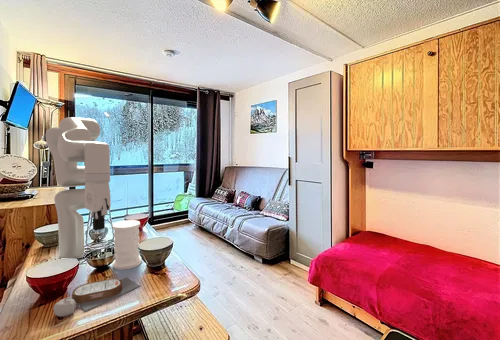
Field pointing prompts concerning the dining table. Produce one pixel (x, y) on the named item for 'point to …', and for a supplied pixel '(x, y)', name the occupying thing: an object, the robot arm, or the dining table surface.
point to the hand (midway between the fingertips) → (98, 228)
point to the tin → (97, 290)
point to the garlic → (64, 307)
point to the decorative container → (126, 244)
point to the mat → (127, 287)
